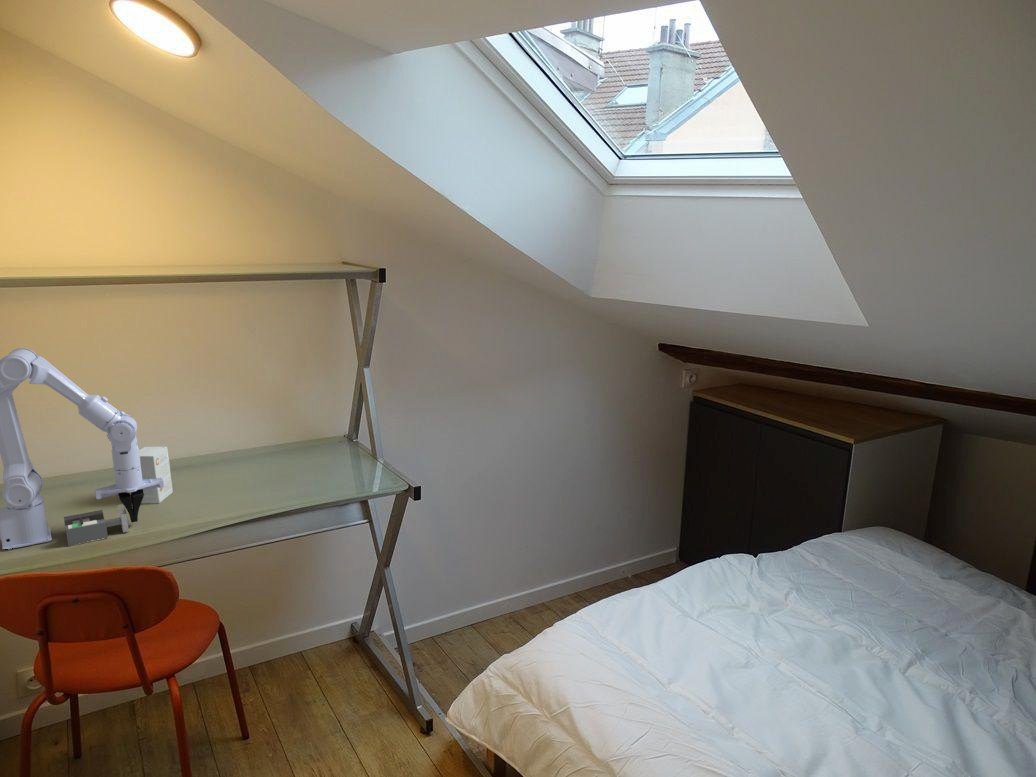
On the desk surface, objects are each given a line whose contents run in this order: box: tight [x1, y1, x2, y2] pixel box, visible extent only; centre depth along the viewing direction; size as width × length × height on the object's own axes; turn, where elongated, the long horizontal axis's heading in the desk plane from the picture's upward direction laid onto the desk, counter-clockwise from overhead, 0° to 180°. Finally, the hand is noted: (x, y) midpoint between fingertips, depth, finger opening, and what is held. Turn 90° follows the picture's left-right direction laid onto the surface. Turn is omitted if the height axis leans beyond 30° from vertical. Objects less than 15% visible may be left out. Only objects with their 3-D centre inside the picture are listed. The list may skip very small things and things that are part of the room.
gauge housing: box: [63, 509, 109, 547], centre depth 180 cm, size 8×9×4 cm
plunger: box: [72, 503, 129, 533], centre depth 182 cm, size 11×8×4 cm
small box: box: [139, 446, 174, 504], centre depth 203 cm, size 8×6×13 cm
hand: (134, 520), depth 186 cm, fingers closed
